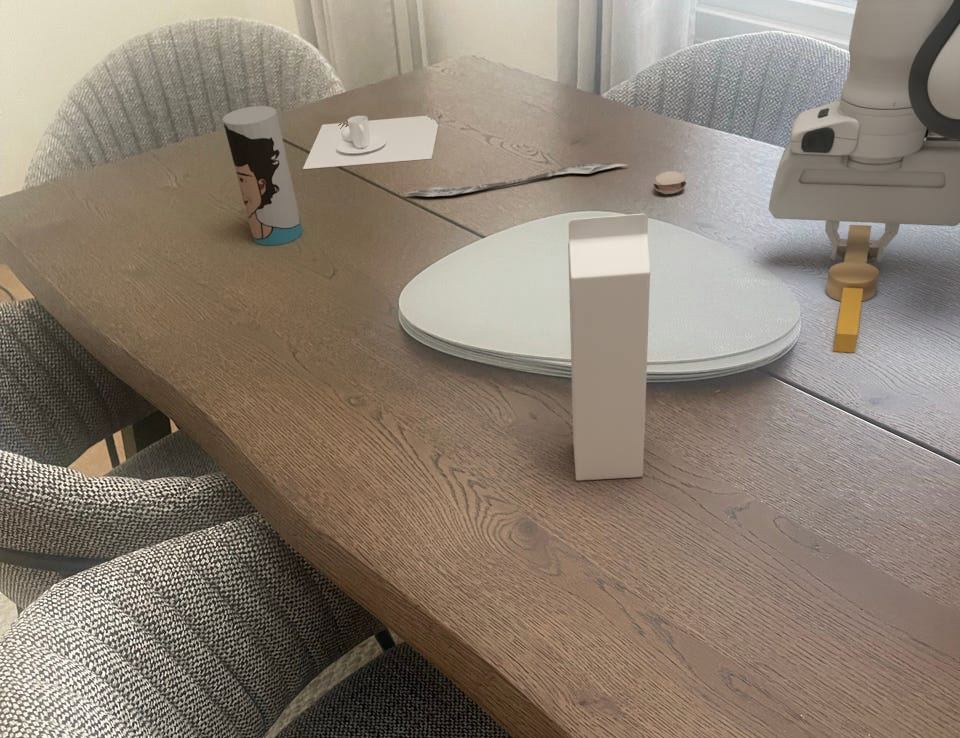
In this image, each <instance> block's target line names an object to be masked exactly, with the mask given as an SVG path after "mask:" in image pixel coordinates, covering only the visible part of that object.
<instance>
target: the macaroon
mask: <svg viewBox="0 0 960 738" xmlns="http://www.w3.org/2000/svg"><path fill="white" fill-rule="evenodd" d="M686 181H687V177H686V175H685V174H683V173H681V172H679V171H676V170H675V171H669V170H667V171H664V172H661V173H659V174H658V175H657V176H655V178H654V181H653V187H654V189H655V191H656V192H658V193H661V194H663V195H674V194H676V193H680V192H681V191H682V190H683V189H684V188H685V187H686V185H687V182H686Z"/></svg>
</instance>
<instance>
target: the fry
mask: <svg viewBox="0 0 960 738" xmlns="http://www.w3.org/2000/svg"><path fill="white" fill-rule="evenodd" d="M862 295H863V289H861V288H843V293H842V298H841V301H840V302H839V303H840V305H839V311H838V317H837V324H836V331H835V337H834V343H833V352H837V353H839V352H840V353H852V354H853V353H855V351H856V345H857V341H858V336H859V326H860V320H861V319H860V318H861V310H862V302H863V301H862Z"/></svg>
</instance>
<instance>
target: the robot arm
mask: <svg viewBox="0 0 960 738" xmlns="http://www.w3.org/2000/svg"><path fill="white" fill-rule="evenodd" d="M850 31H851V32H850V37H849V43H848V44H849V45H848V52H849V53H848V54H849V69H848V73H847V76H846V80H845V81H844V84H843V86H842V89H841V93H840V99H839V100H836V101H833V102H830V103H826V104H823V105H820V106H817V107H813V108H810V109H807V110H804V111H802V112H800V113H799V114H798V115H797V116H796V117H795V119H794V122H793V124H792V126H791V130H790V134H789V137H790V138H789V143H787V145H786V147H785V148H784V149H783V152H782V155H781V158H780V160H779V162H778V166H777V169H776V173H775V177H774V180H773V184H772V189H771V192H770V196H769V197H770V198H769V203H768V210H769V213H770V214H771V216H772V217H773V218H774V219H776V220H797V221H798V220H801V221H821V222H822V221H823V222H825V228H824V231H825V234H826V235H827V238H828V240H829V243H830V245H831V246H832V248H831V253H830V259H829V260H833V261H835V260H836V261H844V256H845V251H846V245H847V238H840V234H839V232H838V230H839V228H840V222H845V223H868V224H870V223H871V224H872V223H873V224H884V233H883V234H882V235H881V236H880V237H879V239H878V240H877V239H876V240H875V239H874V240H873V239H870V242H869V250H868V258H867V262H872V263H873V262H876V263H881V262H882V260H883V259H882V258H883V254H884V249H885V248H886V247H887V246H888V245H889V244H890V243H891V242H892V241H893V239H895V237H896V236H897V235H898V234H899V230H900V225H914V226H915V225H916V226H917V225H919V226H937V227H938V226H939V227H941V226H943V227H956V226H958V225H959V224H960V0H857V2H856V7H855V11H854V16H853V21H852V26H851V30H850Z"/></svg>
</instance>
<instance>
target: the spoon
mask: <svg viewBox="0 0 960 738" xmlns="http://www.w3.org/2000/svg"><path fill="white" fill-rule="evenodd" d="M871 233H872V225H867V224H866V225H865V224H863V225H862V224H861V225H860V224H849V227H848V232H847V238H846V239H847V245H846V251H845V256H844V260H843V261H842V262H838V263H836V264H833V265H832V266H830V268H829V269H828V272H827V278H826V285H825V294H826V295H827V296H828V297H829V298H831V299H833V300H835V301H837V302H838V301H839V302H841V298H842V293H843V288H861V289H863V295H862V302H865V301H869V300H870V299H872V298H873V297H874V296H875V295H876V291H877V287H878V281H879V276H880V271H879V269H878V267H876V266H874V265H872V264H870V263H868V261H867V258H868V252H869V247H870V242H871Z"/></svg>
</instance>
